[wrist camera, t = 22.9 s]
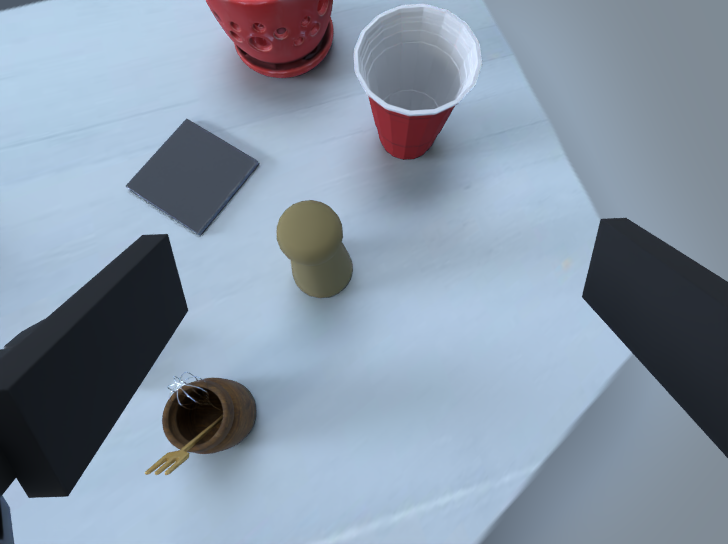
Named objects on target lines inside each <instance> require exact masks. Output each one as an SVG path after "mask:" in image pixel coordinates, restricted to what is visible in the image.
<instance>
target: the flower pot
mask: <svg viewBox="0 0 728 544" xmlns="http://www.w3.org/2000/svg"><path fill="white" fill-rule="evenodd" d="M206 2H207V4H208V6H209V7H210V9H211V11H212V13H213V15H214V16H215V18H216V19H217V21H218V22H219V24H220V25H221V26H222V28H223V29H224V31H225V32H226V34H227V35H228V36H229V37H230V38H231V40H232V41H233V42H234V44H235V48H236V51H237V53H238V55H239V56H240V58H241V59H242V61H243V62H244V63H245V64H246V65H247V66H249V67H250V68H251V69H253V70H254V71H256V72H258V73H260V74H263V75H266V76H269V77H275V78H288V77H294V76H298V75H301V74H303V73H306V72H308V71H309V70H311V69H313V68H314V67H315V66H317V65H318V64H319V63H320V62H321V61H322V60H323V59H324V57H325V56H326V55H327V53H328V51H329V49H330V47H331V45H332V40H333V32H334V31H333V23H332V20H331V17H330V16H331V11H332V4H333V0H206Z"/></svg>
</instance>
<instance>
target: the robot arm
mask: <svg viewBox="0 0 728 544" xmlns="http://www.w3.org/2000/svg"><path fill="white" fill-rule="evenodd" d="M582 298H583V299H584V300H585V301H586V302H587V303H588V304H589V305H590V306H591V308H592V309H593V310H594V311H595V312H596V313H597V314H598V315H599V316H600V317H601V319H602V320H603V321H604V322H605V323H606V324H607V325H608V326H609V327H610V329H611V330H612V331H613V332H614V333H615V334H616V335H617V336H618V337H619V338H620V340H621V341H622V342H623V343H624V344H625V345H626V346H627V347H628V348H629V350H630V351H631V352H632V353H633V354H634V355H635V356H636V357H637V358H638V359H639V361H640V362H641V363H642V364H643V365H644V366H645V367H646V368H647V369H648V371H649V372H650V373H651V374H652V375H653V376H654V377H655V378H656V379H657V380H658V381H659V383H660V384H661V385H662V386H663V387H664V388H665V389H666V390H667V391H668V393H669V394H670V395H671V396H672V397H673V398H674V399H675V400H676V401H677V402H678V404H679V405H680V406H681V407H682V408H683V409H684V410H685V411H686V412H687V414H688V415H689V416H690V417H691V418H692V419H693V420H694V421H695V422H696V423H697V425H698V426H699V427H700V428H701V429H702V430H703V431H704V432H705V433H706V435H707V436H708V437H709V438H710V439H711V440H712V441H713V442H714V443H715V444H716V446H717V447H718V448H719V449H720V450H721V451H722V452H723V453H724V454H725V456H726V457H727V458H728V282H727V281H725V280H724V279H722V278H721V277H719V276H718V275H716V274H714V273H713V272H711V271H710V270H708V269H707V268H705V267H703V266H701V265H700V264H698V263H697V262H695V261H694V260H692V259H691V258H689V257H687V256H686V255H684V254H683V253H681V252H679V251H678V250H676V249H675V248H673V247H672V246H670V245H668V244H667V243H665V242H664V241H662V240H660V239H659V238H657V237H656V236H654V235H652V234H651V233H649V232H648V231H646V230H644V229H643V228H641V227H640V226H638V225H637V224H635V223H633V222H632V221H630V220H629V219H627V218H613V219H601V220H600V224H599V229H598V233H597V237H596V241H595V245H594V249H593V253H592V257H591V262H590V266H589V270H588V274H587V278H586V282H585V286H584V291H583V295H582ZM187 312H188V308H187V304H186V300H185V297H184V293H183V289H182V285H181V282H180V278H179V274H178V270H177V267H176V263H175V259H174V256H173V252H172V248H171V244H170V241H169V237H168V234H157V235H142V236H141V237H140V238H139V239H137V240H136V241H135V242H134V243H133V244H132V245H130V246H129V247H128V248H127V249H126V250H125V251H124V252H122V253H121V254H120V255H119V256H118V257H117V258H115V259H114V260H113V261H112V262H111V263H110V264H108V265H107V266H106V267H105V268H104V269H103V270H102V271H100V272H99V273H98V274H97V275H96V276H95V277H93V278H92V279H91V280H90V281H89V282H88V283H87V284H85V285H84V286H83V287H82V288H81V289H80V290H78V291H77V292H76V293H75V294H74V295H73V296H71V297H70V298H69V299H68V300H67V301H66V302H65V303H63V304H62V305H61V306H60V307H59V308H58V309H56V310H55V311H54V312H53V313H52V314H51V315H50V316H48V317H47V318H46V319H44V320H42V321H40V322H38V323H37V324H35V325H33V326H31V327H29V328H27V329H26V330H24V331H22V332H21V333H19V334H18V335H17V336H16V337H15V338H13V339H12V340H11V341H10V342H9V343H8V344H6V345H5V346H4V349H0V544H14V538H13V530H12V522H11V514H10V507H9V506H8V504H7V502H6V500H5V499H4V497H3V496H2V495H3V493H4V492H5V491H6V490H7V488H8V487H9V486H10V485H11V483H12V482H13V481H14V480H15V478H17V480H18V481H19V483H20V484H21V486H22V488H23V489H24V491H25V492H26V494H27V496H28V497H29V498H35V497H65V496H69V494H70V493H71V491H72V489H73V488H74V486H75V485H76V483H77V482H78V480H79V479H80V477H81V476H82V474H83V472H84V471H85V469H86V468H87V466H88V465H89V463H90V462H91V460H92V459H93V457H94V455H95V454H96V452H97V451H98V449H99V448H100V446H101V445H102V443H103V442H104V440H105V438H106V437H107V435H108V434H109V432H110V431H111V429H112V428H113V426H114V425H115V423H116V421H117V420H118V418H119V417H120V415H121V414H122V412H123V411H124V409H125V408H126V406H127V404H128V403H129V401H130V400H131V398H132V397H133V395H134V394H135V392H136V391H137V389H138V387H139V386H140V384H141V383H142V381H143V380H144V378H145V377H146V375H147V374H148V372H149V370H150V369H151V367H152V366H153V364H154V363H155V361H156V360H157V358H158V357H159V355H160V354H161V352H162V350H163V349H164V347H165V346H166V344H167V343H168V341H169V340H170V338H171V337H172V335H173V333H174V332H175V330H176V329H177V327H178V326H179V324H180V323H181V321H182V320H183V318H184V316H185V315H186V313H187Z"/></svg>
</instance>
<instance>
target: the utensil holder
mask: <svg viewBox="0 0 728 544" xmlns="http://www.w3.org/2000/svg"><path fill="white" fill-rule="evenodd" d="M184 373H186V372H184ZM184 373H183V374H184ZM187 373H189V372H187ZM183 374H182V375H183ZM189 374H191V373H189ZM182 375H181V377H182ZM191 375H192V374H191ZM193 376H194V375H193ZM174 377H176V376H174ZM181 377H180V379H179V378H178V379H179V382H180V380H181ZM194 377H195V378H196V377H197V376H194ZM176 378H177V377H176ZM190 378H192V377H190ZM198 378H200V377H198ZM187 379H189V378H187ZM187 379H185V380H187ZM196 379H197V378H196ZM200 379H201V378H200ZM174 380H175V378H174ZM185 380H184V381H185ZM175 381H176V380H175ZM181 381H182V380H181ZM184 381H182V382H184ZM182 382H181V383H182ZM176 383H177V381H176ZM184 383H185V382H184ZM178 384H179V385H182V384H180V383H177V384H174V385H177V386H179V385H178ZM185 384H186V383H185ZM168 386H171V385H168ZM168 386H167V388H168ZM177 386H176V387H177ZM176 387H175V388H176ZM179 387H180V386H179ZM175 388H174V389H175ZM168 389H170V388H168ZM174 389H173V390H174ZM170 390H171V389H170ZM173 390H172V391H173ZM172 391H171V393H172ZM173 392H174V393H173V395H172V396H171V397H170V395H169V400H168V402H167V403H166V406H165V408H164V412H163V418H162V424H163V430H164V433H165V435H166V437H167V439H168V440H169V441H170V443H171V444H172V445H174V446H175V447H176V448H178V449H180V450H179V451H174V452H169V453H167V454H166V455H164V456H163V457H162V458H161V459H160V460H158V461H157V462H156V463H155V464H154V465H153V466H151V467H150V468H149V469H148V470H147V471H146V472H145V474H146V475H148V474H150V473H151V472H153V471H154V470H155V469H157V468H158V467H159V466H161V465H162V464H163V463H164V462H166V461H167V462H166V463H165V464H163V465H162V466H161V467H160V468H159V469H158V470H157V471H156V472H155V474H156V475H158V474H160V473H161V472H163V471H164V470H165V469H166V468H168V467H169V466H170V465H171V464H173V463H174V462H175V463H174V464H173V465H172V466H171V467H170V468H169V469H168V470H167V471H166V472H165V475H168V474H170V473H171V472H172V471H174V470H175V469H176V468H177V467H178V466H180V465H181V464H182V463H183V462H184V461H186V460H187V459H188V458H189V453H188V452H193V453H198V454H211V453H216V452H219V451H223V450H226V449H228V448H231V447H233V446H235V445H237V444H238V443H240V442H241V441H242V440H243V439H244V438H245V437H246V436H247V435H248V434H249V432H250V431H251V429H252V427H253V424H254V422H255V417H256V406H255V401H254V399H253V397H252V395H251V393H250V392H249V391H248V389H247V388H246V387H244V386H243V385H241V384H240V383H238V382H235V381H232V380H228V379H222V378H206V379H201V380H197V381H194V382H191V383H188V384H186V385H184V386H182V387H180V388H179V389H178V388H177V391H173ZM171 393H170V394H171Z"/></svg>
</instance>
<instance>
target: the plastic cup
mask: <svg viewBox="0 0 728 544" xmlns="http://www.w3.org/2000/svg"><path fill="white" fill-rule="evenodd" d="M481 67H482V58H481V51H480V44H479V41H478V39H477V38H476V36H475V35H474V33H473V32H472V30H471V29H470V27H469V26H468V24H467V23H466V22H464V21H463V20H462V19H460V18H459V17H457V16H456V15H454V14H453V13H452V12H450V11H449V10H446V9H443V8H439V7H435V6H431V5H428V4H411V5H399V6H397V7H395V8H392V9H390V10H388V11H385V12H383V13H381V14H378V15H377V16H376V17H375V18H374V19H373V20H372V21H371V22H370V23H369V24H368V25H367V26H366V27H365V28H364V29H363V30H362V31H361V34H360V36H359V38H358V41H357V43H356V46H355V48H354V68H355V74H356V76H357V78H358V79H359V81H360V83H361V85H362V87H363V88H364V90H365V92H366V94H367V95H368V97H369V101H370V105H371V109H372V113H373V117H374V121H375V125H376V127H377V129H378V134H379V138H380V141H381V143H382V145H383V146H384V148H385V150H386V151H387V152H388V153H390V154H391V155H392V156H394V157H397V158H400V159H403V160H404V159H415V158H417V157H419V156H422V155H423V154H424V153H425V152H426V151H427V150H428V149H429V148H430V147H431V146H432V144H433V142H434V140H435V138H436V137H437V135H438V134H439V133H440V131H441V129H442V128H443V126H444V124H445V122H446V121H447V119H448V117H449V115H450V114H451V112H452V110H453V108H454V107H455V105H457V104H458V103H459V102H460V101H461V100H462V99H463V98H464V97H465V96H466V95H467V94H468V93H469V92H470V90H471V89H472V88H473V87H474V86H475V85H476V82H477V79H478V76H479V73H480V70H481Z"/></svg>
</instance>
